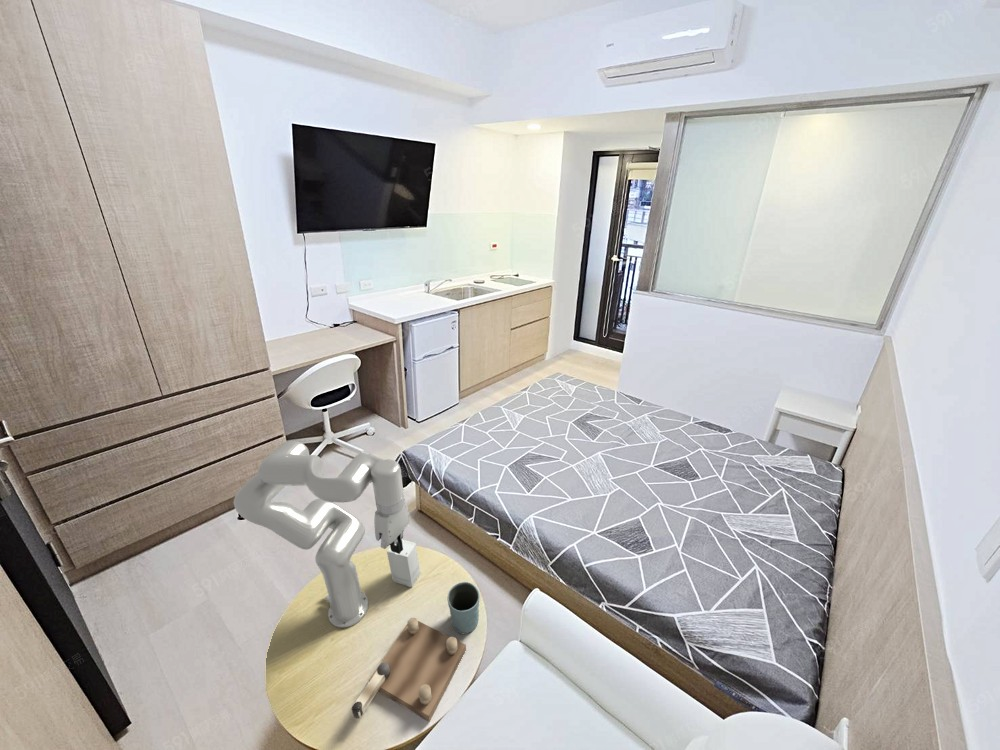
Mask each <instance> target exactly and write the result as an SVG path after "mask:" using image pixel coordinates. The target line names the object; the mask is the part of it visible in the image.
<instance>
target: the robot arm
mask: <svg viewBox="0 0 1000 750" xmlns="http://www.w3.org/2000/svg"><path fill="white" fill-rule="evenodd" d="M324 472H325V465H324V462H323V460H322V458H321V457H320V456H318V455H315V454H310V450H309V448H308V447H307V446H306V445H305V444H304V443H303V442H301V441H298V440H289V441H285V442H284V443H282V444H281V445H279V447H277V448H276V449H275V450H274V451H272V452H271V453H270V454H269V455H268V456H266V458H264V459H263V460H262V462H261V463H260V464H259V467H258V471H257V473H256V474H255V475H254V476H253V477H251V478H250V479H249V480H248V481H247V482H246V483H244V485H242V487H241V488H240V489H239V490H238V491H237V492H236V494H235V497H234V498H233V506H234V509H235V511H236V512H237V514H238V515H240V516H241V518H243V519H244V520H246V521H247V522H250V523H252V524H255V525H258V526H261V527H262V528H263V527H264V528H267V530H270V531H272V532H273V533H275V534H276V535H278V536H280V537H281V538H283V539H284V540H286V541H287V542H288V543H290V544H292V545H294V546H295V547H297V548H299V549H301V550H306V551H307V550H310V549H312V548H313V547H314V546H315V545H317V544H318V542H319V541H320V540H321V538H322V537H323V536H324V534H325V533H326V532H327V530H328V529H331V531H330V532H329V534H328V535H327V536H326V538H325V539H324V541H323V542H322V543H321V544H320V546H319V548H318V550H316V551H317V552H316V554H315V563H316V566H317V567H318V569H319V570H320V572H321V574H322V576H323V581H324V584H325V586H326V591H327V595H326V596H325V597H324V600H325V601H327V602H329V607H328V610H327V611H328V612H327V616H328V620H329V622H330V623H331V625H332V626H333V627H336V628H339V629H340V628H341V629H344V628H349V627H352V626H354V625H356V624H357V623H358V622H360V621H362V619H363V618H364V617H365V616H366V614H367V612H368V609H369V599H368V596H367V595H366V594H365V593H364V592H362V590H361V585H360V581H359V575H358V571H357V567H356V564H355V563H354V562H353V561H352V560H351V558H352V556H353V555H354V553H355V551H356V549H357V548H358V546H359V544H360V543H361V542H362V541H363V540H362V539H364V536H365V534H366V528H365V525H364V523H363V522H362V521H361V520H360V519H359V518H357V517H356V516H354V515H353V514H352V513H350V512H349V511H347V510H345V509H344V508H343V507H341V506H339V504H336V503H343V504H344V503H351V502H354V501H356V500H358V499H359V498H360V497H361V496H362V495H363V493H364V492H365V490H366V489H367V488H368V486H369V485H370V484H371V483H372V488H373V489H372V490H373V493H374V494H373V495H374V500H375V506H376V507H375V508H376V510H375V512H374V520H373V521H374V526H373V527H374V535H375V540H376V541H378V542H379V541H380V548H382V549H384V550H385V549H387V548H389V547H391V551H392V552H394V553H395V552H396V553H398V554H400V553H401V551H402V550H403V545H402V540H403V538H404V531H405V529H406V528H407V527H408V525H409V524H410V512H409V507H408V503H407V501H406V498H405V495H404V493H405V492H404V491H405V490H404V487H403V477H402V469H401V466H400V464H399V462H398V461H396V460H394V459H391V458H390V459H389V458H387V459H384V458H380V457H378V456H375V455H373V454H370V453H366V452H363V453H362V452H360V453H359V454H357V455H355V456H354V458H352V460H350V462H349V464H347V465H346V467H344V469H343V470H342V471H341V472H340V474H339V475H338V476H337V477H324V474H325V473H324ZM287 486H288V487H307V488H308V490H309V491H310V493H311V494H312V495H314V497H317V498H316V499H314V500H311V501H310V503H308V504H307V506H306V507H305V508H304V509H302V510H301V509H299V508H298V507H296V506H295V505H293V504H291V503H288V502H282V501H273V499H274V498H275V497H276V496H277V495H278V494H279V493H280V492H281V491H282V490H283V489H284V488H285V487H287ZM272 501H273V502H272ZM401 539H402V540H401Z"/></svg>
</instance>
